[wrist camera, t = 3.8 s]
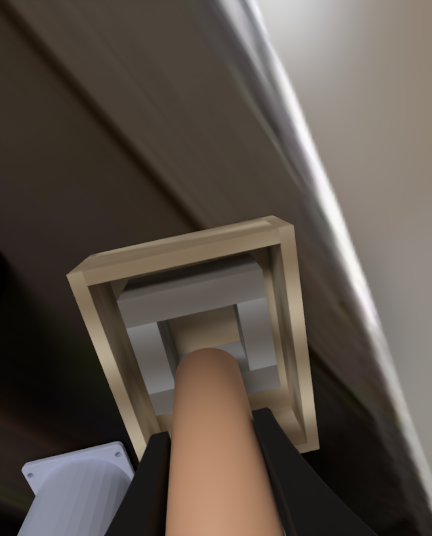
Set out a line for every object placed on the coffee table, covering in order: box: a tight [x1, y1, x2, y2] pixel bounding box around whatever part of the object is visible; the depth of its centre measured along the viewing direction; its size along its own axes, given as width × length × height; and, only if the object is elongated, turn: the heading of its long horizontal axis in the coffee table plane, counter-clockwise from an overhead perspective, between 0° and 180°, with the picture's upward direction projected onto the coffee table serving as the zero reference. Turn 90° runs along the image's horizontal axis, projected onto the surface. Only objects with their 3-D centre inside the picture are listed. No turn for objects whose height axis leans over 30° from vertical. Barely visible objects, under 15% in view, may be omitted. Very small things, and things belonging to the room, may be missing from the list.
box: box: [67, 215, 319, 462], centre depth 20 cm, size 16×12×4 cm
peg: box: [165, 347, 285, 536], centre depth 10 cm, size 3×3×9 cm
